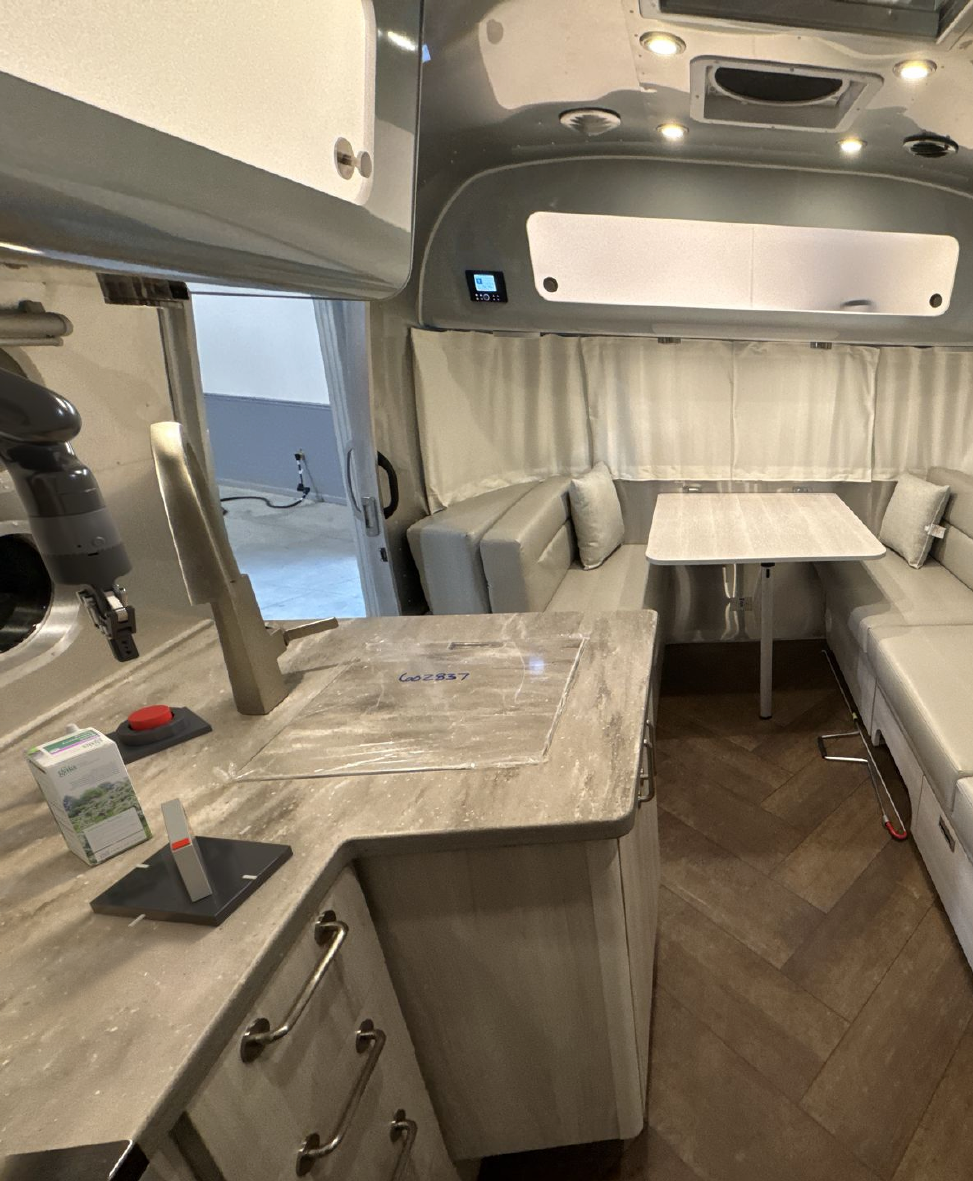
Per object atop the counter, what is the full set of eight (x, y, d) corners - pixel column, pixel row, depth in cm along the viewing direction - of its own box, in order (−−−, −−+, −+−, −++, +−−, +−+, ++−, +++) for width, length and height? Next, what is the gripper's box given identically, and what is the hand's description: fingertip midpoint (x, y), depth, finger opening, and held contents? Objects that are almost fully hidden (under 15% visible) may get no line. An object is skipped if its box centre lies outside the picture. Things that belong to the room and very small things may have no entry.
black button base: (124, 765, 88) (117, 748, 87) (101, 743, 92) (93, 726, 91) (213, 731, 96) (207, 714, 95) (187, 712, 100) (181, 696, 99)
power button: (138, 735, 91) (134, 724, 90) (126, 724, 93) (122, 714, 92) (177, 720, 94) (174, 710, 94) (165, 711, 96) (161, 701, 96)
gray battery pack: (179, 851, 73) (159, 801, 70) (198, 844, 74) (178, 795, 72) (192, 902, 67) (171, 850, 64) (212, 893, 68) (191, 842, 65)
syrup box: (132, 820, 79) (90, 723, 74) (156, 837, 77) (114, 738, 71) (69, 850, 74) (18, 749, 69) (92, 869, 72) (42, 766, 67)
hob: (70, 930, 65) (64, 918, 64) (199, 830, 78) (195, 820, 78) (200, 944, 64) (195, 933, 64) (308, 841, 78) (305, 831, 77)
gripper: (23, 540, 83) (74, 656, 89) (56, 561, 77) (109, 684, 83) (102, 527, 89) (145, 637, 95) (138, 545, 83) (181, 661, 89)
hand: (128, 658), depth 89 cm, fingers closed
